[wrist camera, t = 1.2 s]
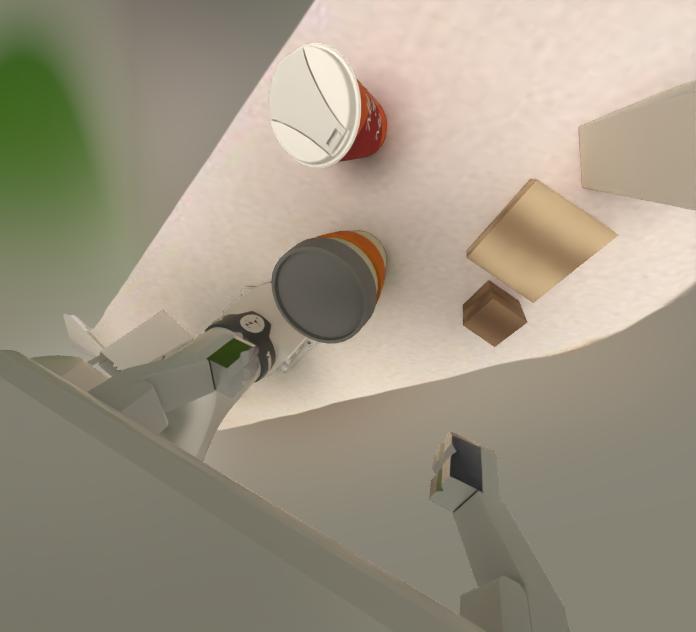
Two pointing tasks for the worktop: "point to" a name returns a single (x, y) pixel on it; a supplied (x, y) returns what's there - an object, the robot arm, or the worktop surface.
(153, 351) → the grater
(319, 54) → the coffee cup
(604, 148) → the milk
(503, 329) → the walnut cube
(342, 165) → the worktop surface
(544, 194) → the oak plinth
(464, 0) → the worktop surface
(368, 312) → the reusable coffee cup
